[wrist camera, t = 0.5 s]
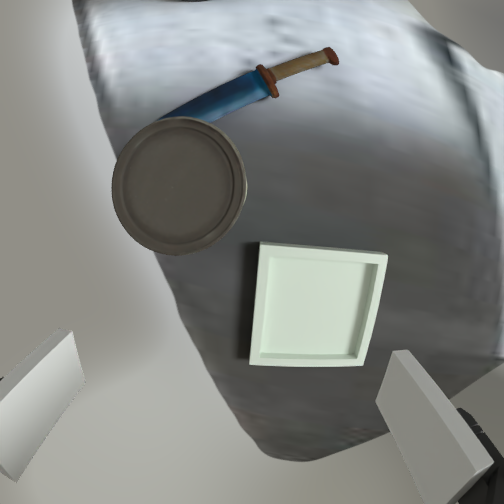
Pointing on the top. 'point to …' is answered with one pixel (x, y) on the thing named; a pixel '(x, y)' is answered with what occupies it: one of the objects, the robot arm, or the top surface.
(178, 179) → the coffee can
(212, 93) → the knife
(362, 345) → the tray
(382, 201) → the top surface
